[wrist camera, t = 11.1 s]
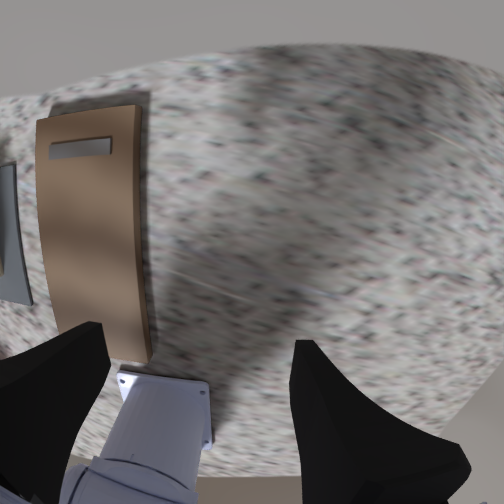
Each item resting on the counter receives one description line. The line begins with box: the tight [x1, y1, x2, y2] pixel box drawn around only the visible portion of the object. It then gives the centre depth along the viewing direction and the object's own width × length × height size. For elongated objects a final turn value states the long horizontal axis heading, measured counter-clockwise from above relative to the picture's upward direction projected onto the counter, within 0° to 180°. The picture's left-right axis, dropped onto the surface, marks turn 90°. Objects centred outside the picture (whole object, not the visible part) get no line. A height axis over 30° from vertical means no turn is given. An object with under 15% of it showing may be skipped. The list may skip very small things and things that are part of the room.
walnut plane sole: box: [35, 105, 152, 364], centre depth 19 cm, size 18×8×1 cm, turn 177°
